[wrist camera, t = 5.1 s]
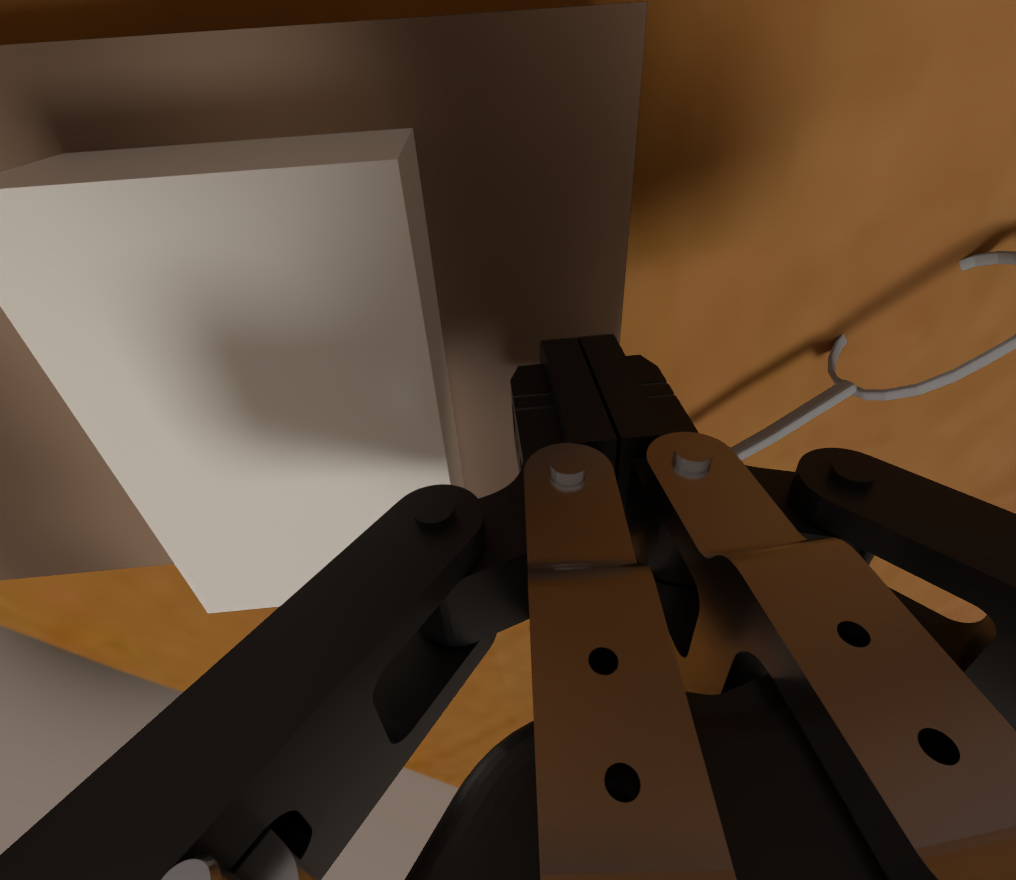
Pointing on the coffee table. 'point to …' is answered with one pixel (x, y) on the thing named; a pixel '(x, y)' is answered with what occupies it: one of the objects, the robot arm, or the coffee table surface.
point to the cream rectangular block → (240, 340)
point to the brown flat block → (445, 188)
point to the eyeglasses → (847, 388)
